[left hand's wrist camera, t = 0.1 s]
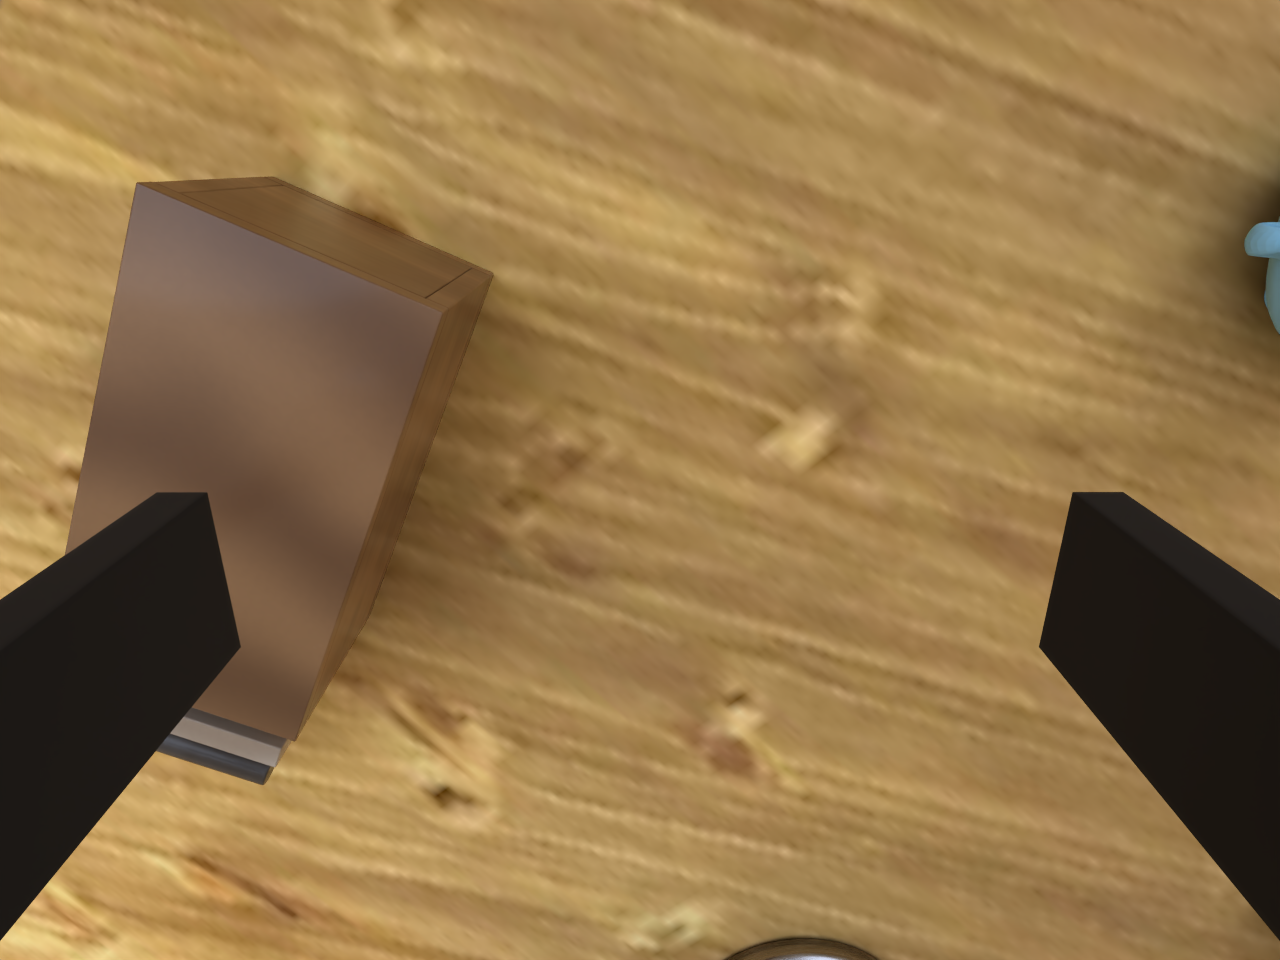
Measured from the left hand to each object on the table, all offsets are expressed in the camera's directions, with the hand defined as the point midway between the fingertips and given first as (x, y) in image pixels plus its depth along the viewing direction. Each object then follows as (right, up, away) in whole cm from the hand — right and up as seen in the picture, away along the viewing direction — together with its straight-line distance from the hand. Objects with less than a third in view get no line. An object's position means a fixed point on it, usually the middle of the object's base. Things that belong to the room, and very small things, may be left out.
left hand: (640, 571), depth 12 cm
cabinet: (-16, +5, +28) cm, 33 cm away
